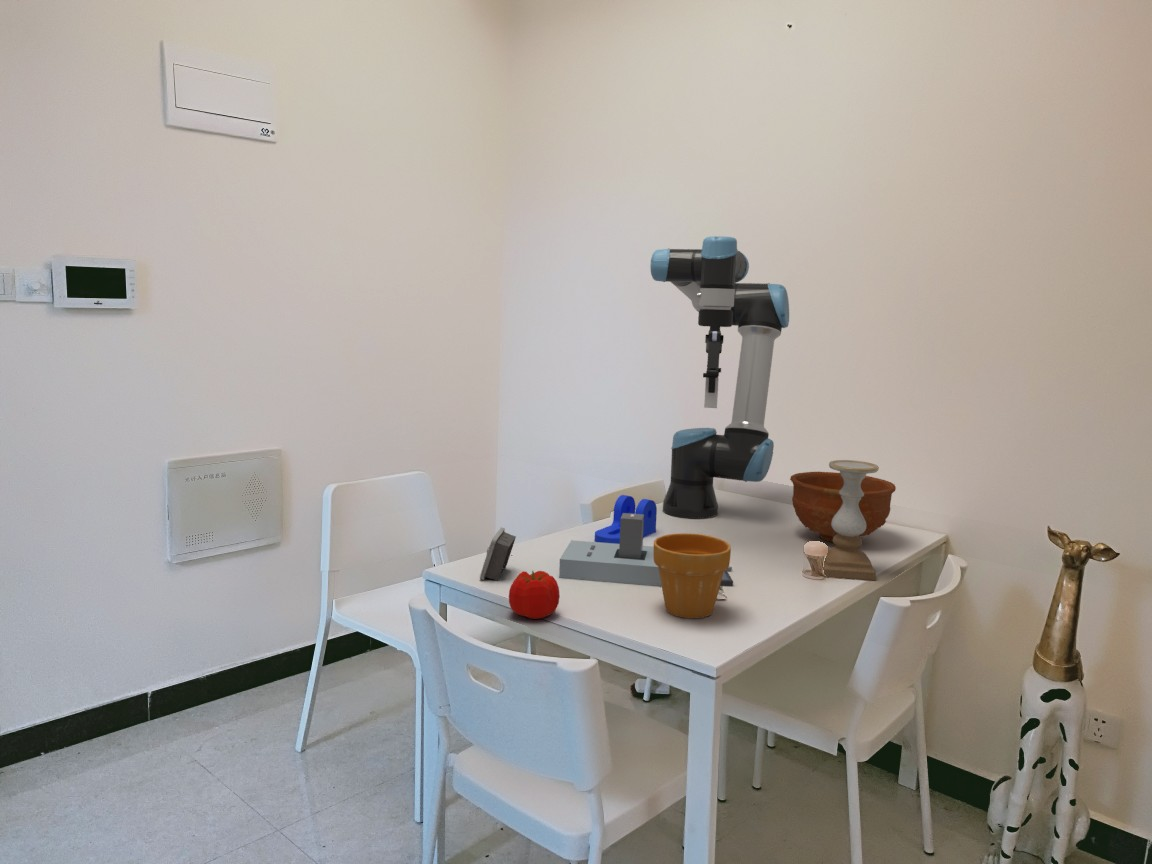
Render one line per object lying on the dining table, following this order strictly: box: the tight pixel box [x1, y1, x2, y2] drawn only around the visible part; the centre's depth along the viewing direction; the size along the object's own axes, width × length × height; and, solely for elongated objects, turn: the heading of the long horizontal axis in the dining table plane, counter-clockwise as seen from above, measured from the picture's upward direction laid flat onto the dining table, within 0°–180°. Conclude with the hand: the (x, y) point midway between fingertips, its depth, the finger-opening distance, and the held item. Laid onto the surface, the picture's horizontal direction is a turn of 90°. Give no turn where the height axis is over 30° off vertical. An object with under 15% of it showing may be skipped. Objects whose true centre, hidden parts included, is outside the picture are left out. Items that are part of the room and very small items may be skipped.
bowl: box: [789, 471, 897, 543], centre depth 206 cm, size 25×25×15 cm
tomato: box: [508, 570, 561, 620], centre depth 151 cm, size 9×9×8 cm
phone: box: [720, 570, 734, 587], centre depth 173 cm, size 7×14×1 cm, turn 91°
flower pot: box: [653, 532, 732, 619], centre depth 155 cm, size 14×14×13 cm
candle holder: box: [823, 459, 880, 582], centre depth 180 cm, size 11×11×24 cm
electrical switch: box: [479, 527, 517, 581], centre depth 172 cm, size 9×5×9 cm, turn 173°
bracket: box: [594, 494, 658, 544], centre depth 202 cm, size 18×8×9 cm, turn 145°
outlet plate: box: [558, 539, 662, 587], centre depth 176 cm, size 14×22×4 cm, turn 81°
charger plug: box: [619, 513, 644, 560], centre depth 175 cm, size 4×4×12 cm
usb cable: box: [726, 566, 733, 572], centre depth 182 cm, size 15×1×1 cm, turn 71°
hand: (710, 404), depth 186 cm, fingers open, 13 cm apart
